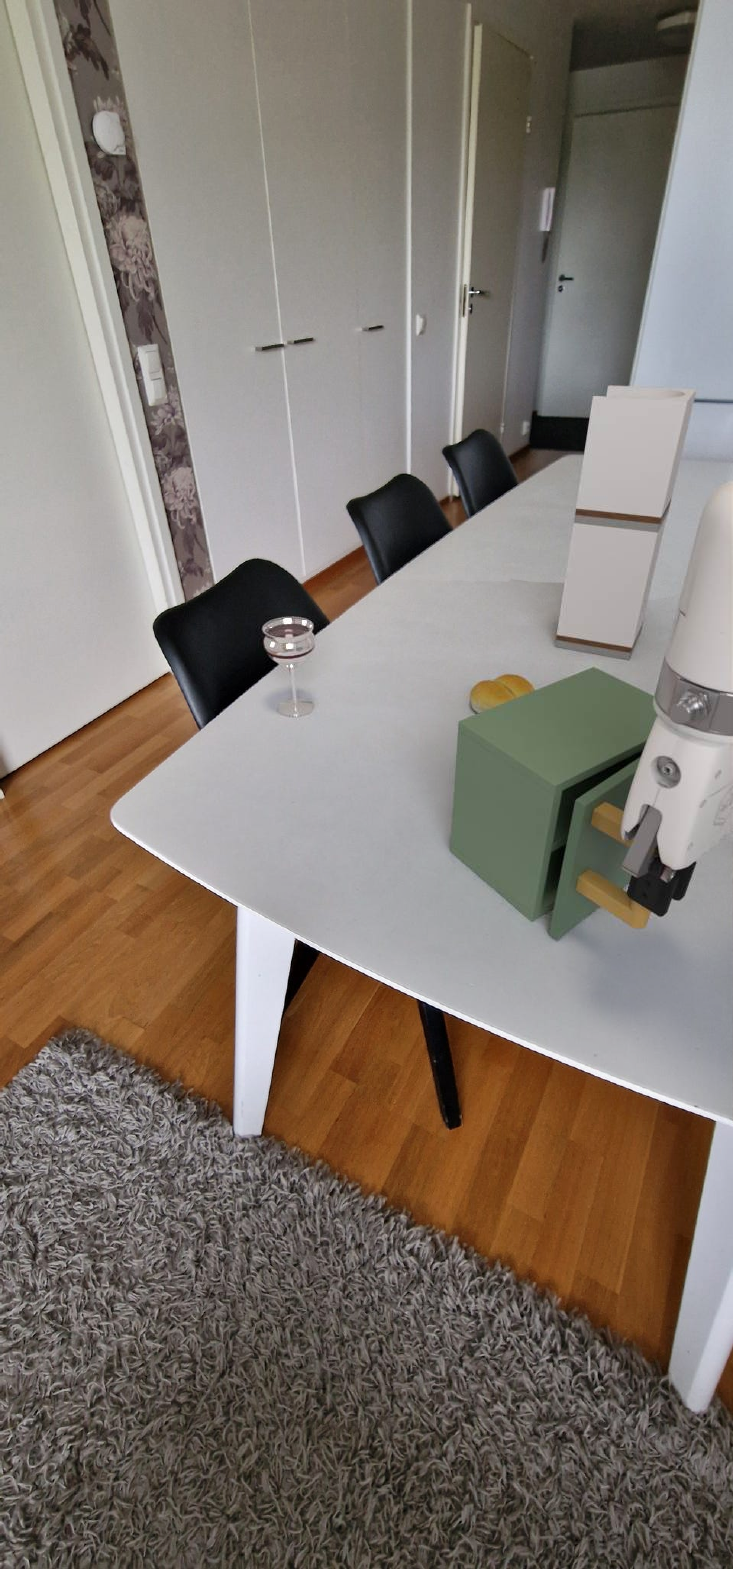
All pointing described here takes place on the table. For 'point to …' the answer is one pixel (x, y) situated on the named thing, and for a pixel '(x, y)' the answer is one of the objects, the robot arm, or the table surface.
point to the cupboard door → (597, 859)
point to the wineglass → (290, 654)
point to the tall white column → (621, 515)
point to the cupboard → (539, 778)
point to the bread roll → (498, 691)
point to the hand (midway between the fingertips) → (654, 896)
